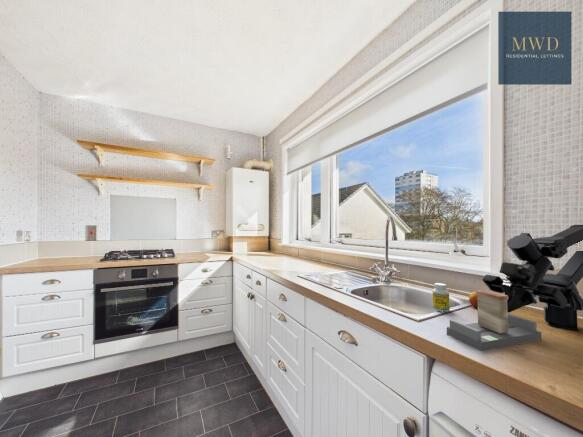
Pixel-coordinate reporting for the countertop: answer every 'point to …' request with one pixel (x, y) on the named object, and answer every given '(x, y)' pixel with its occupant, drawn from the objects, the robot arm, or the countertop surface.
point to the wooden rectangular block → (492, 311)
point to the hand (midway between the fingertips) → (506, 311)
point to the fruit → (473, 299)
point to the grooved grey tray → (495, 333)
